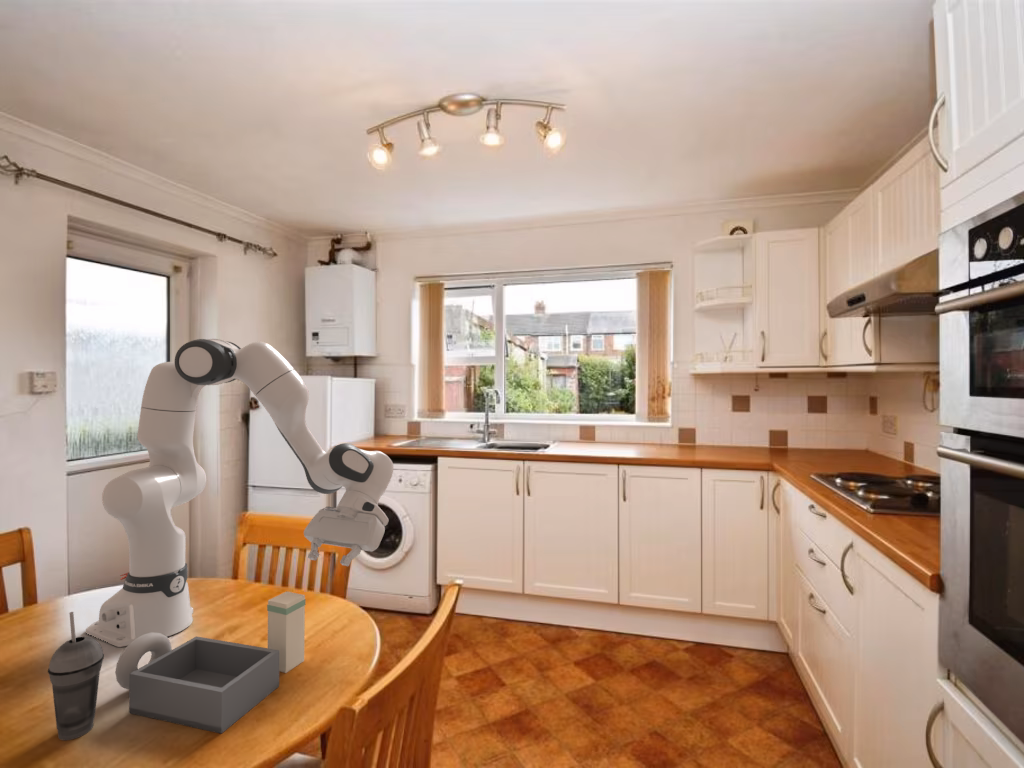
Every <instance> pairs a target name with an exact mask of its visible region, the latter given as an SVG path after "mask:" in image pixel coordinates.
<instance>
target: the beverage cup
mask: <svg viewBox="0 0 1024 768" xmlns="http://www.w3.org/2000/svg"><path fill="white" fill-rule="evenodd" d="M68 614H69V623H70V624H69V626H70V634H71V639H68V640H67V641H65V642H63V643H62V644H61V645H60V646H59V647H58V648H57V649H56V650H55V652H53V655H52V656H51V658H50V659H51V660H50V661H49V665H48V668H47V669H48V670H47V673H48V676H49V680H50V683H51V686H52V687H51V689H52V695H53V697H52V698H53V706H54V715H55V716H54V717H55V724H56V730H57V734H58V736H57V737H58V739H59V740H61V741H71V740H74V739H77V738H79V737H82V736H85V735H86V734H88V733H89V732H90V731H91V730H92V729H93V727H94V720H95V716H96V709H97V700H98V690H99V685H100V684H99V683H100V682H99V681H100V673H101V670H102V666H103V661H104V657H105V653H104V651H103V650H104V649H103V648H102V646H101V644H100V643H99V641H97V640H96V638H94V637H89V636H78V637H76V627H75V617H74V615H75V614H74V611H71V612H69V613H68Z"/></svg>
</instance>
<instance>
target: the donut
mask: <svg viewBox="0 0 1024 768" xmlns="http://www.w3.org/2000/svg"><path fill="white" fill-rule="evenodd" d="M171 650H173V649H172V643H171V641H170V639H169V638H168V636H167V637H166V636H165V635H163V634H161V633H148V634H144V635H142V636H140V637H138V638H137V639H135V640H134V641H133V642H131V643H130V644H129V645H127V646H125V648H124V650H123V651H122V653H121V654H120V656H119V658H118V660H117V662H116V666H115V672H114V673H115V679H116V682H117V684H118V685H119V686H120V687H121V688H124V689H126V690H129V677H130V673H132V672H134V671H135V670H137V669H139V667H138V666H139V662H140V660H141V659H142V657H143V656H144V655H145V654H147V653H148V652H150V654H151V655H150V656H151V657H150V659H149V661H148V663H150V662H152V661H153V660H155V659H157V658H159V657H160V656H162V655H164V654H166V653H168V652H169V651H171Z"/></svg>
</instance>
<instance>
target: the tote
mask: <svg viewBox="0 0 1024 768" xmlns="http://www.w3.org/2000/svg"><path fill="white" fill-rule="evenodd" d="M279 687H280V671H279V650H275V649H269V648H268V647H262V646H255V645H249V644H244V643H238V642H232V641H225V640H220V639H215V638H209V637H208V638H207V637H203V636H195V637H193V638H191V639H189V640H187V641H186V642H184V643H181V644H180V645H178V646H176V647H175V648H173V649H172V650H171V651H169V652H168V653H166V654H164V655H162V656H160V657H159V658H157V659H155V660H153V661H152V662H150V663H149V662H148V663H146V664H145V665H143V666H141V667H138V669H137V670H135V671H134V672H132V673H130V677H129V694H128V697H129V698H128V699H129V701H128V702H129V703H128V707H129V708H128V714H133V715H137V716H141V717H145V718H151V719H153V720H160V721H163V722H167V723H172V724H177V725H181V726H186V727H190V728H194V729H195V728H196V729H199V730H203V731H208V732H213V733H217V734H223V733H224V732H225V731H227V730H228V729H229V728H230V727H231V726H233V725H234V724H235V723H236V722H238V721H239V720H240V719H241V718H242V717H244V716H245V715H246V714H247V713H249V712H250V711H251V710H252V709H253V708H255V707H256V706H257V705H258V704H260V703H261V702H262V701H263V700H264V699H265V698H267V697H268V696H269V695H270V694H271V693H272V692H274V691H275V690H276V689H278V688H279Z"/></svg>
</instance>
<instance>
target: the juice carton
mask: <svg viewBox="0 0 1024 768" xmlns="http://www.w3.org/2000/svg"><path fill="white" fill-rule="evenodd" d="M305 596H306V595H305V594H301V593H296V592H292V591H285V592H282V593H281V594H277V595H276V596H274V597H272V598H270V599H268V600H267V606H266V611H267V648H269V649H275V650H279V673H280V672H281V673H285V674H287V673H288V672H290V671H291V670H293V669H294V668H295V667H297V666H299V665H301V663H303V662H304V661H305V625H306V624H305V621H306V620H305V618H306V617H305V613H306V611H305V610H306V609H305V607H306V597H305Z"/></svg>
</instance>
